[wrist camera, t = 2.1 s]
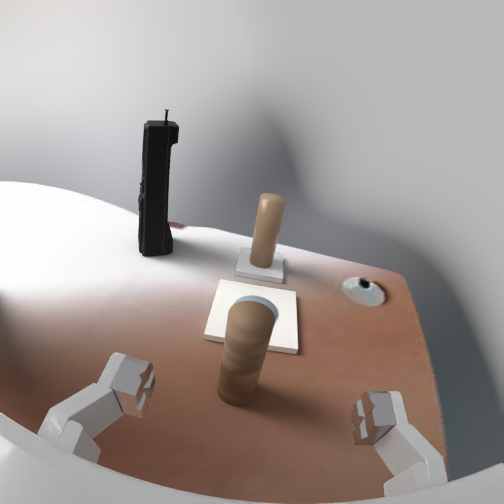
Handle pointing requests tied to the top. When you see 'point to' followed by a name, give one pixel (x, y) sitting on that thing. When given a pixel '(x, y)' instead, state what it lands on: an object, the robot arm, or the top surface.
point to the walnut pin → (244, 350)
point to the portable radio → (156, 187)
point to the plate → (275, 299)
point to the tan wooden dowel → (264, 243)
